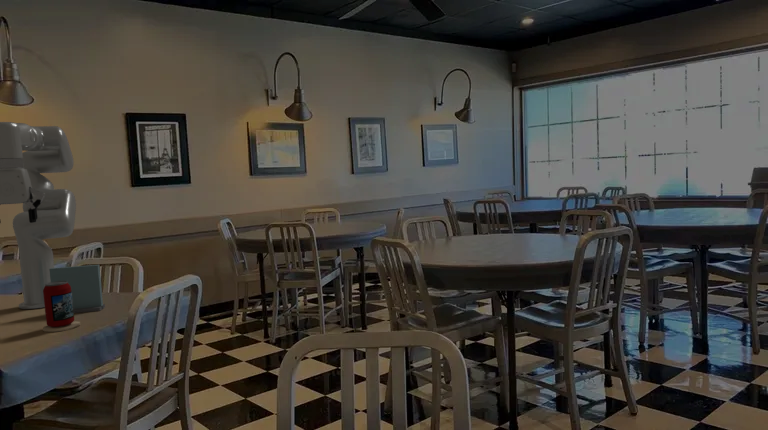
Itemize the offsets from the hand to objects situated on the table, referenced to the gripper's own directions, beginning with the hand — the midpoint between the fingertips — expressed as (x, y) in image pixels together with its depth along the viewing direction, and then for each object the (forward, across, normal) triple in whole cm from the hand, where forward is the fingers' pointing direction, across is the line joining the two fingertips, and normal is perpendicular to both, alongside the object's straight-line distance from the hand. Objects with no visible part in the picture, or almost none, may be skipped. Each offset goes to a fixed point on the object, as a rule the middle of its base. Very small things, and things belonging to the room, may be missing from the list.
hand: (15, 223), depth 166 cm
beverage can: (+28, +15, -16) cm, 35 cm away
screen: (+29, +13, +5) cm, 32 cm away
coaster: (+28, +15, -16) cm, 36 cm away
